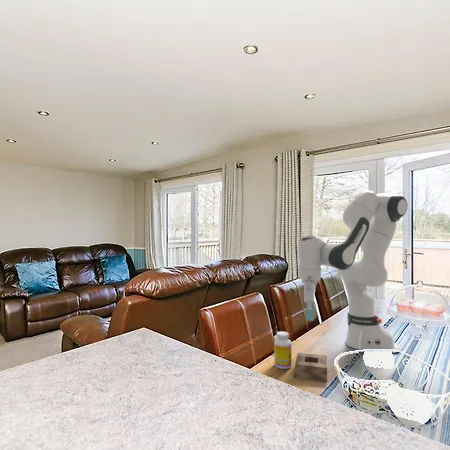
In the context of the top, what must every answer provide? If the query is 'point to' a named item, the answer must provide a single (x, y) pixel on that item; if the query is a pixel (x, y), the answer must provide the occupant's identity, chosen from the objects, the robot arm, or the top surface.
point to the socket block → (311, 367)
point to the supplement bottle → (282, 351)
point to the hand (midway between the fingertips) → (310, 308)
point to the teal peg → (310, 313)
